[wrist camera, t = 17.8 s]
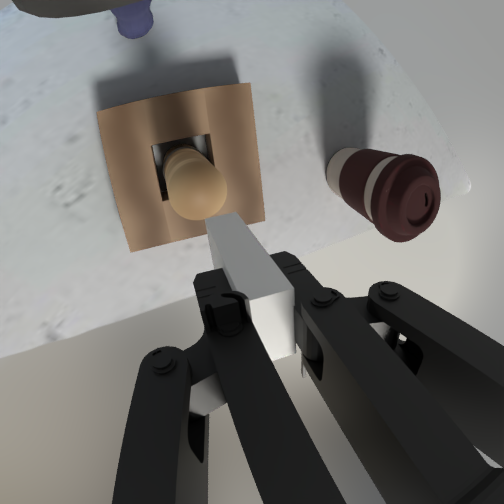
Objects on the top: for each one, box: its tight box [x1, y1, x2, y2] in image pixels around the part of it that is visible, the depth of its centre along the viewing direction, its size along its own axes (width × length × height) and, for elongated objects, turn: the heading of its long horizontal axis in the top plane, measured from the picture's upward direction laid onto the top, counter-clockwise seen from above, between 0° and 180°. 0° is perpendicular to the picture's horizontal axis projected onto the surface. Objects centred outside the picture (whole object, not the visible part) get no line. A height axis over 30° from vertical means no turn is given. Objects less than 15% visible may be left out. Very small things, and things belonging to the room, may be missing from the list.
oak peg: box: [163, 144, 227, 220], centre depth 28 cm, size 5×5×14 cm
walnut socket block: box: [97, 83, 265, 252], centre depth 32 cm, size 16×16×4 cm
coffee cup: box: [327, 147, 441, 242], centre depth 35 cm, size 10×10×15 cm
